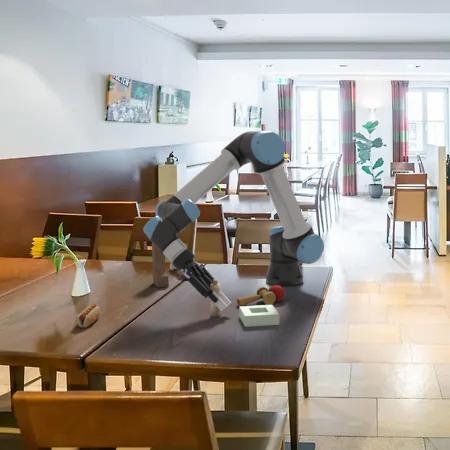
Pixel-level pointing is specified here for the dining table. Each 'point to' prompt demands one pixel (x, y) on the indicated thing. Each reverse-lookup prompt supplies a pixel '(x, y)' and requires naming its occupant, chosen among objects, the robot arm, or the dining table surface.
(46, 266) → the dining table surface
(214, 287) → the beige bottle
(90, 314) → the food
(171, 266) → the spoon rest
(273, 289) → the kendama
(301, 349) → the dining table surface
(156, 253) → the wooden block
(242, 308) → the peg hole block
